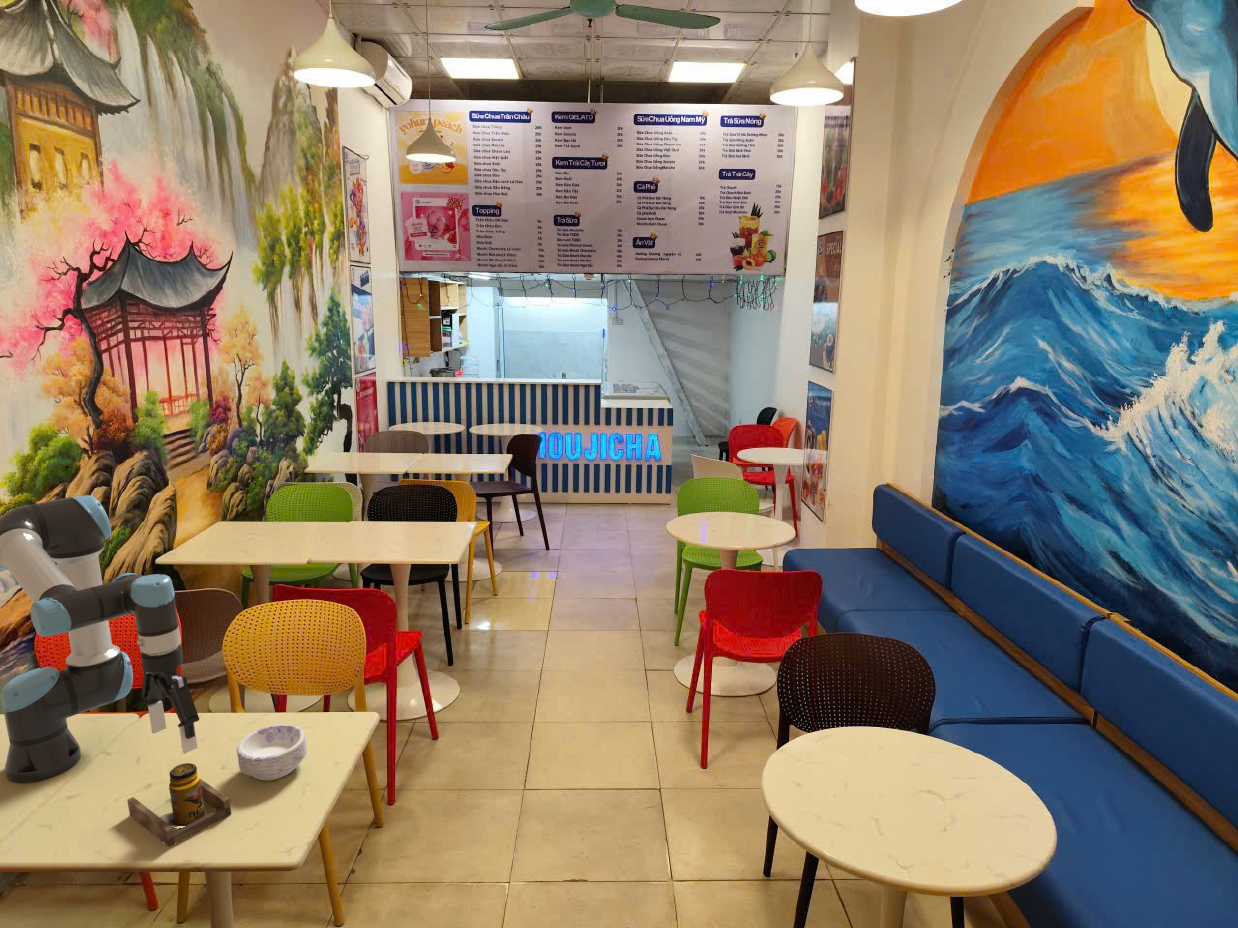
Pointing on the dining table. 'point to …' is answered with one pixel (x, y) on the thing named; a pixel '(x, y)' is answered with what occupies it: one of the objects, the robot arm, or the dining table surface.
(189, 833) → the walnut shelf lane
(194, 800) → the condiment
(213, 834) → the dining table surface
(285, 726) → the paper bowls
